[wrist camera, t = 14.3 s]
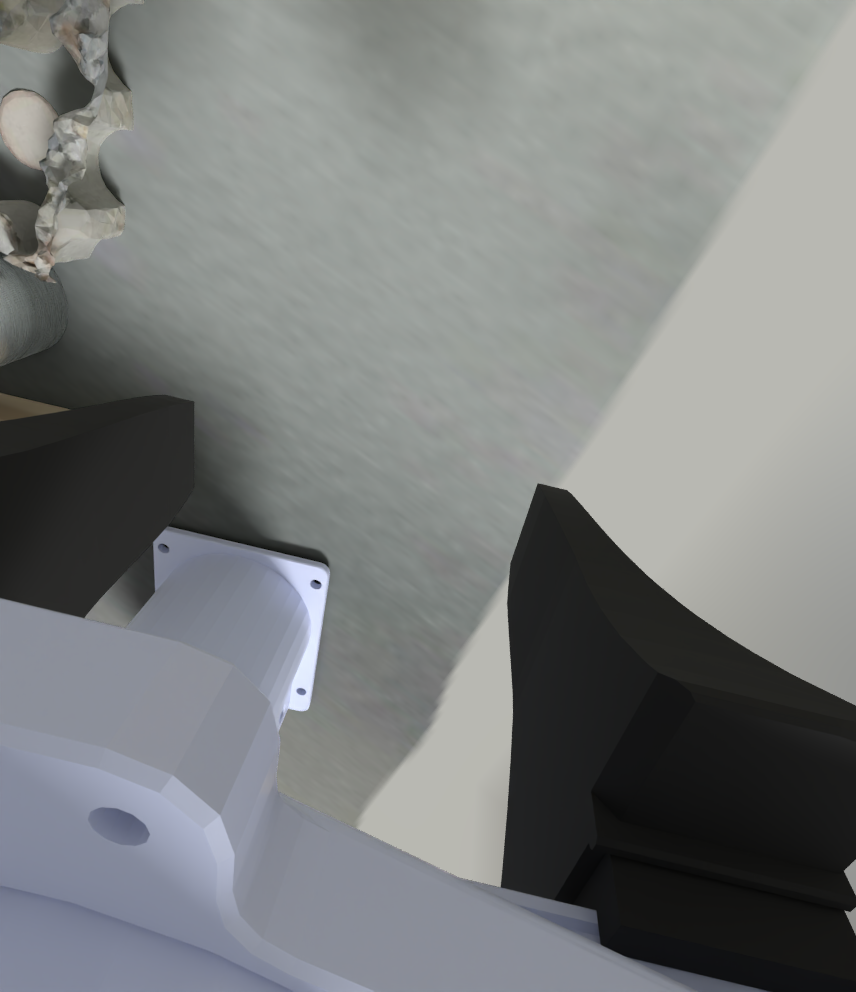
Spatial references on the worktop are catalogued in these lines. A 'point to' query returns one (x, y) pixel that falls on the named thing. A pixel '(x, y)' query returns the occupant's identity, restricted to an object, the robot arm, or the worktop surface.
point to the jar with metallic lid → (29, 312)
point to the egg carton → (62, 136)
